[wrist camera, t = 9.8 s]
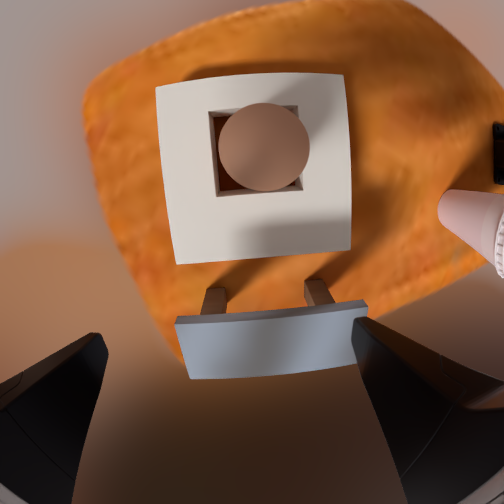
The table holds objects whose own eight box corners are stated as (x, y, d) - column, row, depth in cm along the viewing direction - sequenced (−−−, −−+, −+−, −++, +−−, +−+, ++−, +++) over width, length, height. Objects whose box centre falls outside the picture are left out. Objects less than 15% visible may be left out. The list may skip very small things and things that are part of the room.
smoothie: (463, 165, 19) (583, 196, 6) (476, 223, 21) (577, 278, 8) (419, 191, 20) (551, 242, 7) (434, 252, 22) (538, 330, 9)
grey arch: (325, 250, 22) (368, 306, 13) (324, 294, 23) (358, 362, 15) (199, 260, 22) (174, 324, 13) (206, 304, 23) (190, 378, 15)
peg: (281, 121, 18) (305, 101, 11) (285, 175, 20) (312, 188, 12) (225, 125, 18) (214, 106, 11) (230, 179, 20) (223, 195, 12)
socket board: (330, 84, 17) (343, 75, 14) (337, 237, 21) (350, 249, 19) (167, 95, 17) (155, 87, 14) (185, 249, 21) (176, 264, 19)
